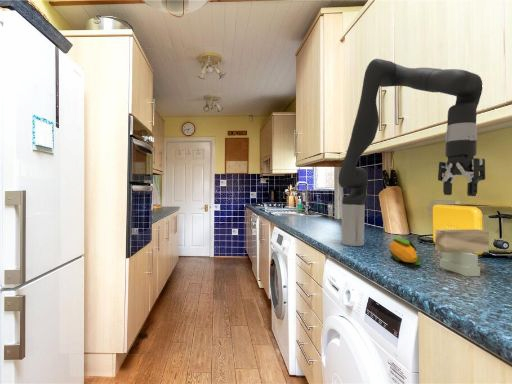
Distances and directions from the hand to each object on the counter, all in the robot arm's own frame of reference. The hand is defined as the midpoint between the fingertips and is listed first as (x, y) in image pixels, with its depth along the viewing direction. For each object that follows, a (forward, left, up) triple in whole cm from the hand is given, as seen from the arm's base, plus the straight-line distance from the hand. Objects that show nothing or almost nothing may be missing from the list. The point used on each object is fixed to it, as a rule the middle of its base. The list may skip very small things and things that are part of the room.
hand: (459, 195), depth 87 cm
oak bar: (+1, +1, -16) cm, 16 cm away
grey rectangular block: (+1, 0, -22) cm, 22 cm away
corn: (-11, -9, -23) cm, 27 cm away
